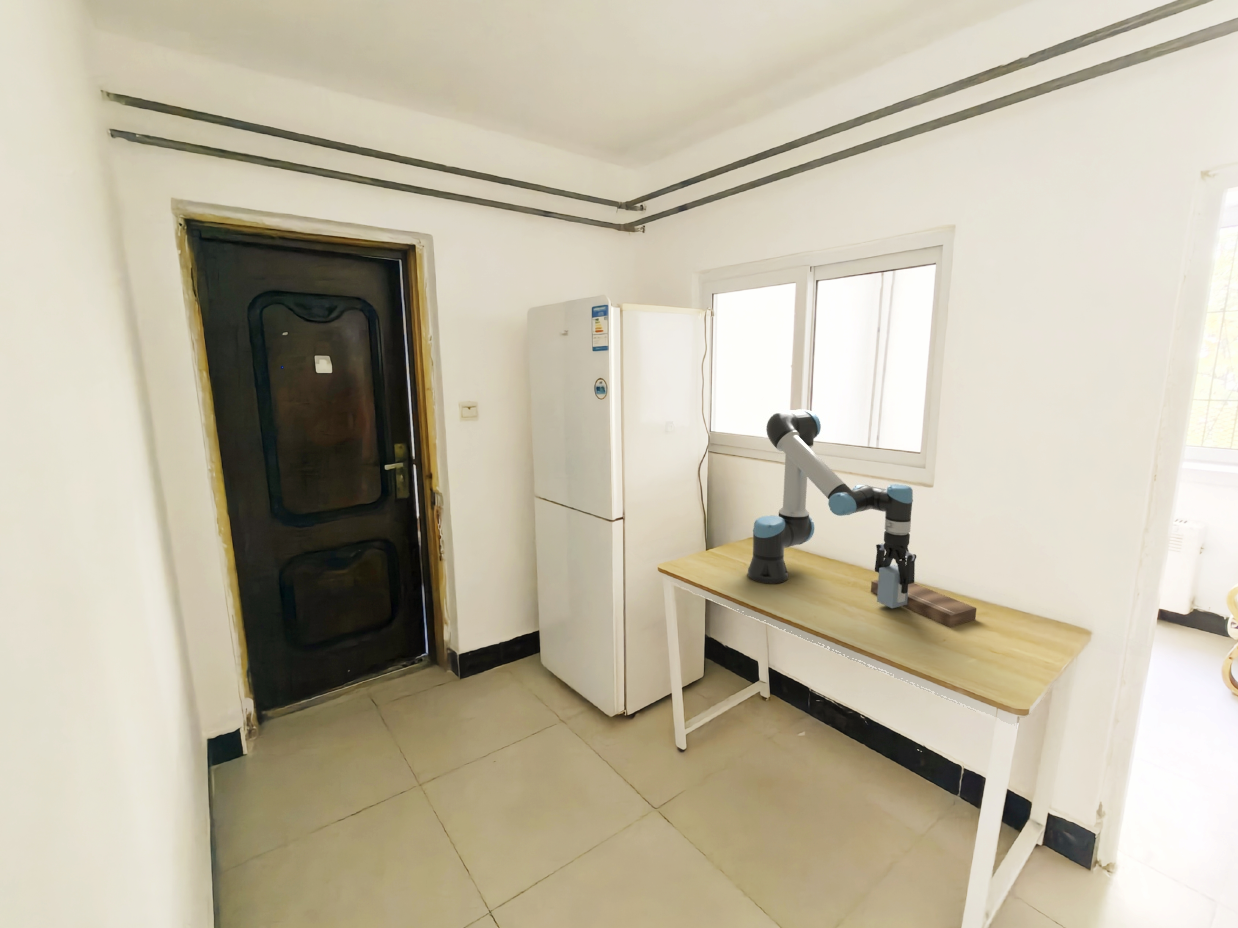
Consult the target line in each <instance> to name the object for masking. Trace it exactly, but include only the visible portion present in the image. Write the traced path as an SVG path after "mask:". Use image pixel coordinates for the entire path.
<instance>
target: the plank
mask: <svg viewBox="0 0 1238 928" xmlns="http://www.w3.org/2000/svg"><path fill="white" fill-rule="evenodd" d="M870 593H873V594H876V595H877V593H878V579H876V580H871V586H870ZM902 607H904V608H906V609H908V610H911V611H912V612H915V613H917V614H920V615H922V616H924V617H927V618H928V619H931V620H932V621H935V622H937V623H940V624H942V625H943V626H946V627H949V628H952V627H956V626H958V625H963V624H965V623H968V622H969V623H970V622H971V621H975V620H976V616H977V607H976V606H973V605H971V604H968V603H965V602H963V601H960V600H957V599H956V598H952V597H951V596H947V595H945V594H942V593H940V592H937V591H934V590H933V589H930V588H927V587H924V586H923V585H919V584H918V583H915V582H914V583H912V584H909V586H908V599H907V605H903V606H902Z"/></svg>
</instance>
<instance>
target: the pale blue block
mask: <svg viewBox="0 0 1238 928" xmlns="http://www.w3.org/2000/svg"><path fill="white" fill-rule="evenodd" d="M877 580H878V593H877V594H876V595H877V596H876V598H877V599H876V602H877V603H880V604H882V605H884V606H886V607H888V608H890V609H895V608H900V607H904V606H903V605H907V599H908V592H907V593H906V594H905V601H904V602H900V603H899V602H897V597H898V584H899V583H901V580H900V573H899V570H898V565H896V564H891V565H890V566H888V567H882V568H879V573H878V579H877ZM908 586H909V584H908Z"/></svg>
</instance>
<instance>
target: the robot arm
mask: <svg viewBox="0 0 1238 928" xmlns="http://www.w3.org/2000/svg"><path fill="white" fill-rule="evenodd" d="M821 426H822V425H821V421H820V418H819V416H817V415H816V414H815V413H814V412H813V411H811V410H809V409H796V410H783V411H778V412H776V413H774V414H773V415H771V416H770V418H769V419H768V420H767V424H766V435H767V438H768V440H769V441H770V442H771V444H772V445H773V446H774V447H775V449H776V450H777V451H779V452H782V453H784V454H785V456H784V457H785V459H784V479H783V495H782V496H783V498H782V501H783V502H782V508H780V509H779V510H778V515H764V516H761V517H758V518H757V519H755V520H754V522H753V529H752V532H753V533H752V537H753V538H752V557H751V558H752V559H751V560H750V564H749V566H748V567H747V577H748V578H749V579H750V580H752V581H755V582H757V583H762V584H774V585H775V584H780V583H784V582H786V581H787V580H788V577H789V576H788V569H787V566H786V563H785V562H786V561H785V559H784V557H785V549H787V548H790V547H794V546H797V545H798V546H799V545H803V544H804V543H806V542H809V540H811V539H812V538H813V536H814V533H815V524H814V522H813V521H812V520H813V519H812V518H811V517H810V512H809V511H808V510H807V509H806V505H807V487H808V479H809V481H811V482H812V483H813V484H814V486H816V488H817V489H818V490H819V491H820V492H821V493H822V494H823V496H825V497H826V498H827V499H828V501H827V502H828V503H827V504H828V507H829V510H830V511H831V513H832V514H834V515H835V516H841V517H842V516H850V515H853V514H855V513H860V512H864V511H868V510H875V511H880V512H883V513H884V512H885V513H884V514H885V516H884V517H885V519H884V530H885V531H884V532H883V533H884V534H883V543H878V544H875V547H876V556H875V563H874V564H875V565H874V573H878V574H879V568H882V567H888V566H891V565H892V562H893V560H894V561H895V564H897V565H896V566H898V570H899V573H900V580H901V583H899V584H898V597H897V602H899V603H900V602H904V601H905V594H906V593H907V592H908V584H912V583H915V571H916V569H915V567H916V566H915V562H916V559H917V555H916V554H913V553H911V552H910V551H909V545H910V537H911V535H910V533H911V524H912V523H911V522H912V520H911V519H912V509H913V502H914V498H913V497H914V496H913V495H914V494H913V493H914V492H913V488H912V487H911V486H910V485H909V486H908V485H904V484H889V485H888V486H887V488H886V489H885V488H881V487H875V486H871V485H868V484H865V485H863V484H857V485H855V486H854V487H853V488H852V489H851V488H850V487H849V486H848V485H847V484H846V483H845V482H844V481H843V480H842V479H841V478H840V477H839V476H838V474H836V473H835V472H834V471H833V470H832V469H831V467H830V466H828V465H827V463H825V461H824V460H822V459H821V457H820V456H819V455H817V454H816V453H815V451H813V450H812V448H813V446H814V440H815V439H816V438H817V437H818V435H820V432H821V428H822V427H821Z"/></svg>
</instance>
